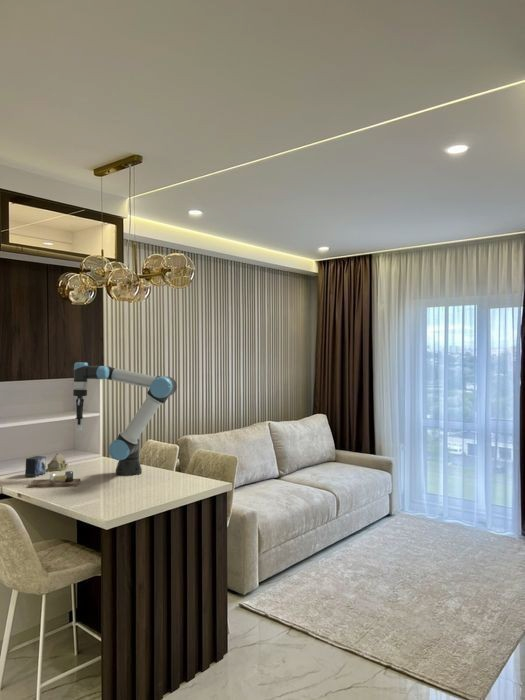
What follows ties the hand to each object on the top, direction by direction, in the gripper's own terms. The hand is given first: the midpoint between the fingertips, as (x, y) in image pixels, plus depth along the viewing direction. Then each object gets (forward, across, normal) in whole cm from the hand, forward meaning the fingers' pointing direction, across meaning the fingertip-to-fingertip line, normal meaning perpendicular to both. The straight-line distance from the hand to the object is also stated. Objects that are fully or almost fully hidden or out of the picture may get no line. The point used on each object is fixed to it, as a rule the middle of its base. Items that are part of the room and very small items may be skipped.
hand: (79, 430), depth 307 cm
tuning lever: (+25, +22, -6) cm, 34 cm away
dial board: (+26, +20, -9) cm, 34 cm away
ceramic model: (+27, -23, -15) cm, 39 cm away
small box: (+27, -6, -24) cm, 36 cm away
